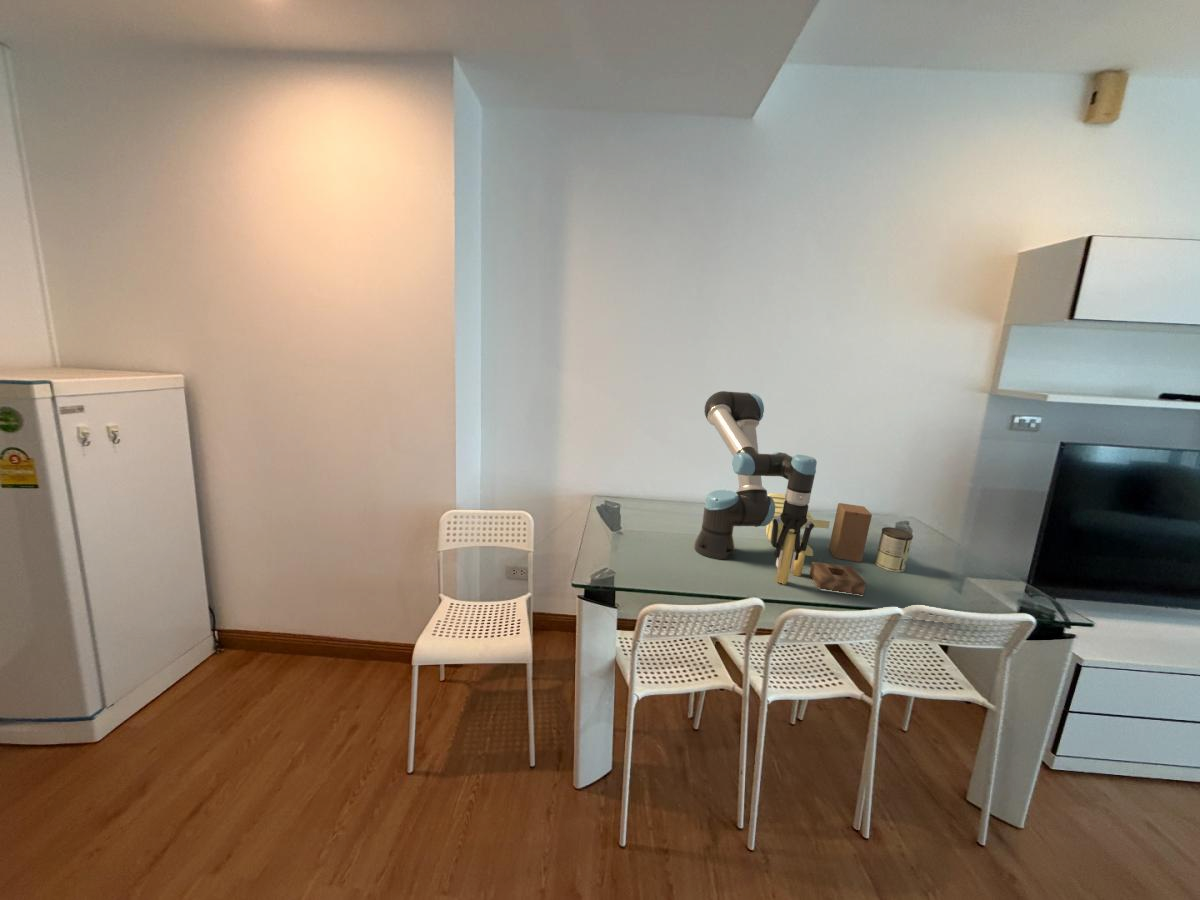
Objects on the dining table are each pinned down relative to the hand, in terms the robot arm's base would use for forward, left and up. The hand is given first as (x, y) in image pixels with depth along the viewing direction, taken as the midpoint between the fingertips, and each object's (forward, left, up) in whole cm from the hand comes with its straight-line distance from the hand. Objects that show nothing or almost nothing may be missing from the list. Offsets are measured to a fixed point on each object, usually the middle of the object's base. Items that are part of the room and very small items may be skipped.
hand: (784, 567), depth 169 cm
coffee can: (+47, +28, -6) cm, 55 cm away
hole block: (+19, +4, -6) cm, 20 cm away
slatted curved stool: (+10, +34, -6) cm, 36 cm away
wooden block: (+32, +33, -6) cm, 46 cm away
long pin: (0, 0, -5) cm, 5 cm away
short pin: (+7, +9, -6) cm, 13 cm away
